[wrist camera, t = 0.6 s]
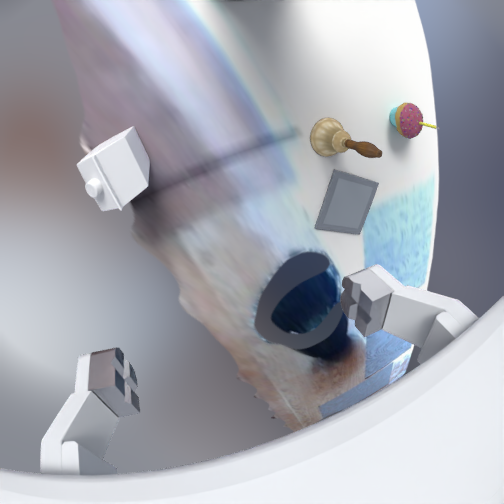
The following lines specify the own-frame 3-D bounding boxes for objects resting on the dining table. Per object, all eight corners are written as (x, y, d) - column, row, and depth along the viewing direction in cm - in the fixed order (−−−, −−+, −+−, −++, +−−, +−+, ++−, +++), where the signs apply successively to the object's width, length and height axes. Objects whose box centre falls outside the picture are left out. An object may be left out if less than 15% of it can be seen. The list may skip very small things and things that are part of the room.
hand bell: (303, 128, 51) (353, 144, 38) (335, 111, 51) (390, 123, 38) (319, 163, 56) (367, 188, 43) (348, 145, 56) (400, 165, 43)
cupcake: (407, 102, 54) (445, 110, 44) (406, 134, 59) (443, 146, 49) (383, 99, 52) (423, 106, 42) (383, 134, 57) (420, 146, 47)
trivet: (334, 169, 58) (335, 170, 57) (377, 182, 63) (379, 183, 62) (314, 227, 64) (316, 228, 63) (358, 233, 69) (359, 234, 69)
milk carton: (134, 125, 41) (120, 141, 26) (150, 161, 45) (148, 196, 30) (97, 145, 40) (66, 173, 25) (115, 179, 45) (96, 224, 29)
